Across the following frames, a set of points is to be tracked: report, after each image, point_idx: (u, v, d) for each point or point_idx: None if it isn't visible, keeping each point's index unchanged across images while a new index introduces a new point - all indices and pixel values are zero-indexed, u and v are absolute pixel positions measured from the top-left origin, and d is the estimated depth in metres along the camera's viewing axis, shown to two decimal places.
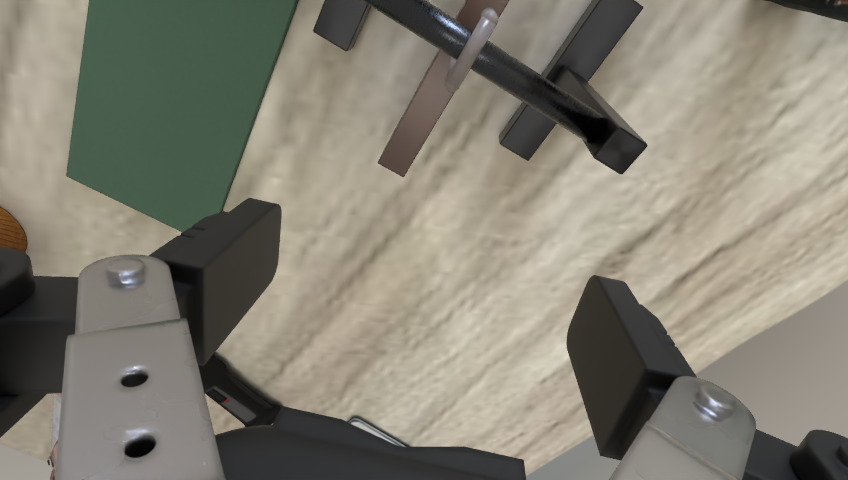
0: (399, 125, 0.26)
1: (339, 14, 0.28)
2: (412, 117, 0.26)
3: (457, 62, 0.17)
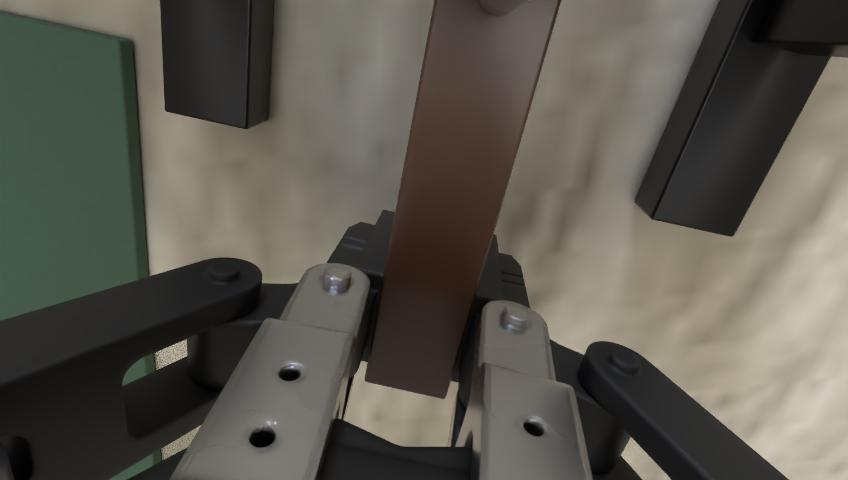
0: (387, 274, 0.09)
1: (201, 54, 0.12)
2: (417, 242, 0.08)
3: None
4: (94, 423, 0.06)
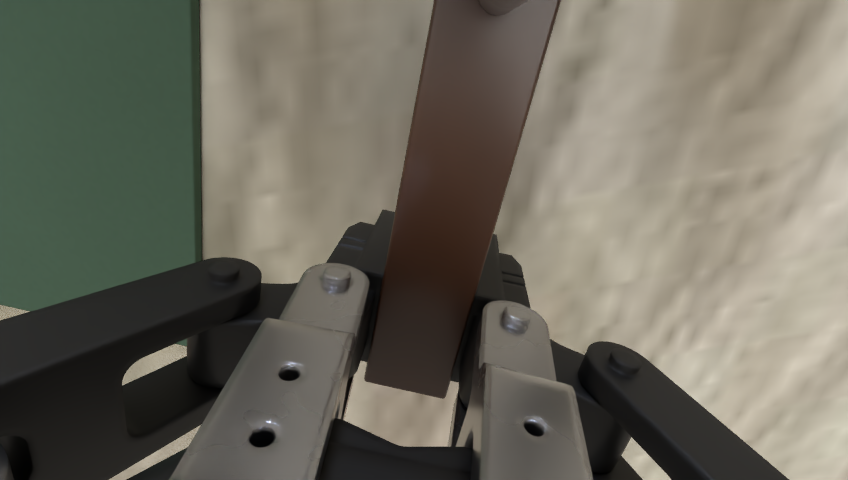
0: (387, 274, 0.09)
1: None
2: (417, 241, 0.08)
3: None
4: (93, 423, 0.06)
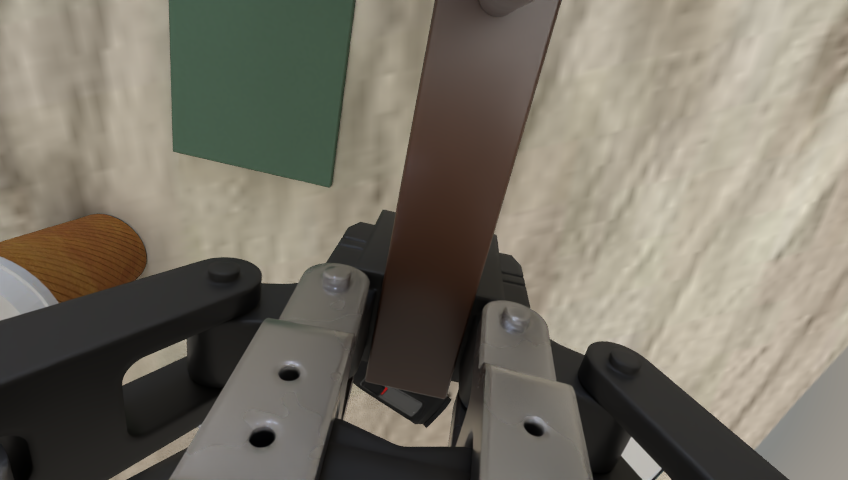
0: (387, 275, 0.09)
1: None
2: (417, 242, 0.08)
3: None
4: (94, 423, 0.06)
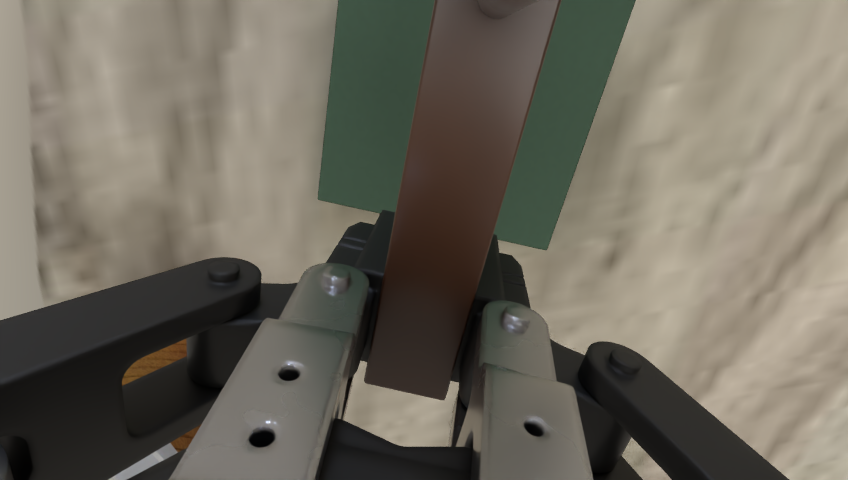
0: (387, 276, 0.09)
1: None
2: (416, 243, 0.08)
3: None
4: (93, 423, 0.06)
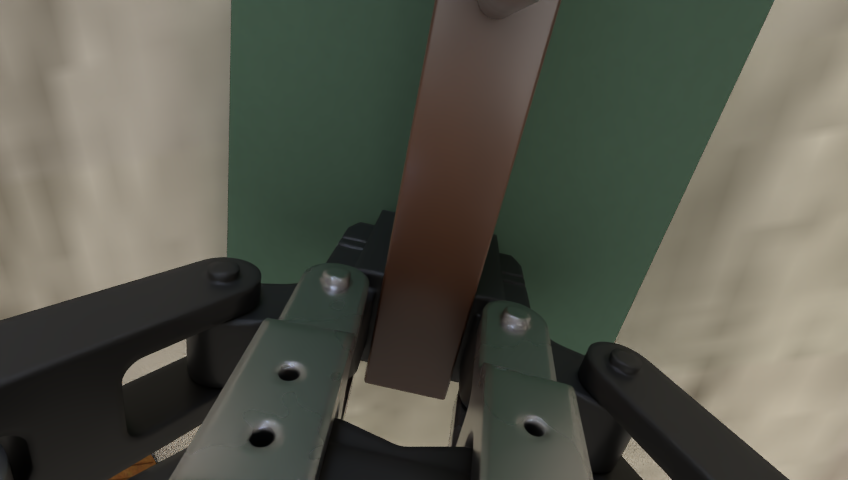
0: (387, 276, 0.09)
1: None
2: (416, 243, 0.08)
3: None
4: (93, 423, 0.06)
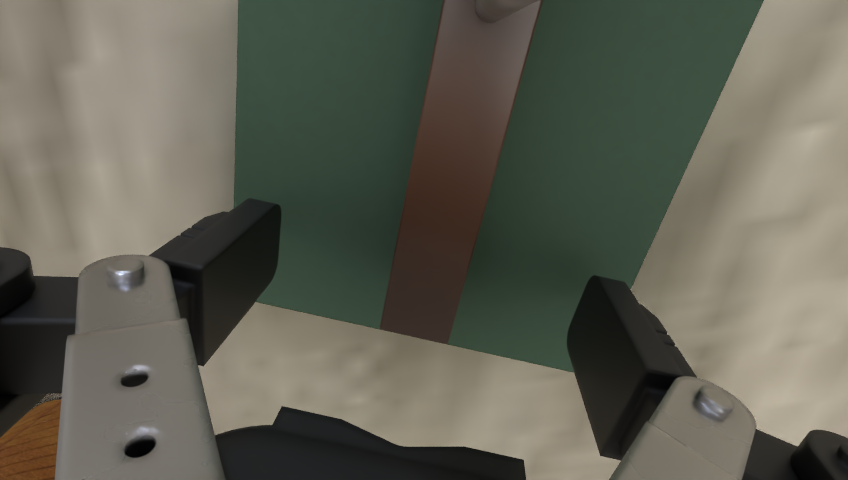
0: (400, 235, 0.10)
1: None
2: (425, 207, 0.10)
3: None
4: None
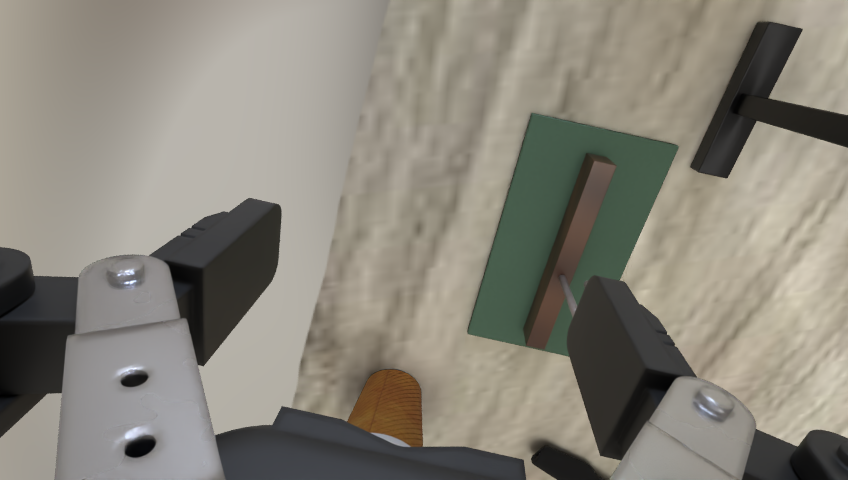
0: (535, 322, 0.41)
1: (722, 154, 0.35)
2: (542, 316, 0.41)
3: None
4: None
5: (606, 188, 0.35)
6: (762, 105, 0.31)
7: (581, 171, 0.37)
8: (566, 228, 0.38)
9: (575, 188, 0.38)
